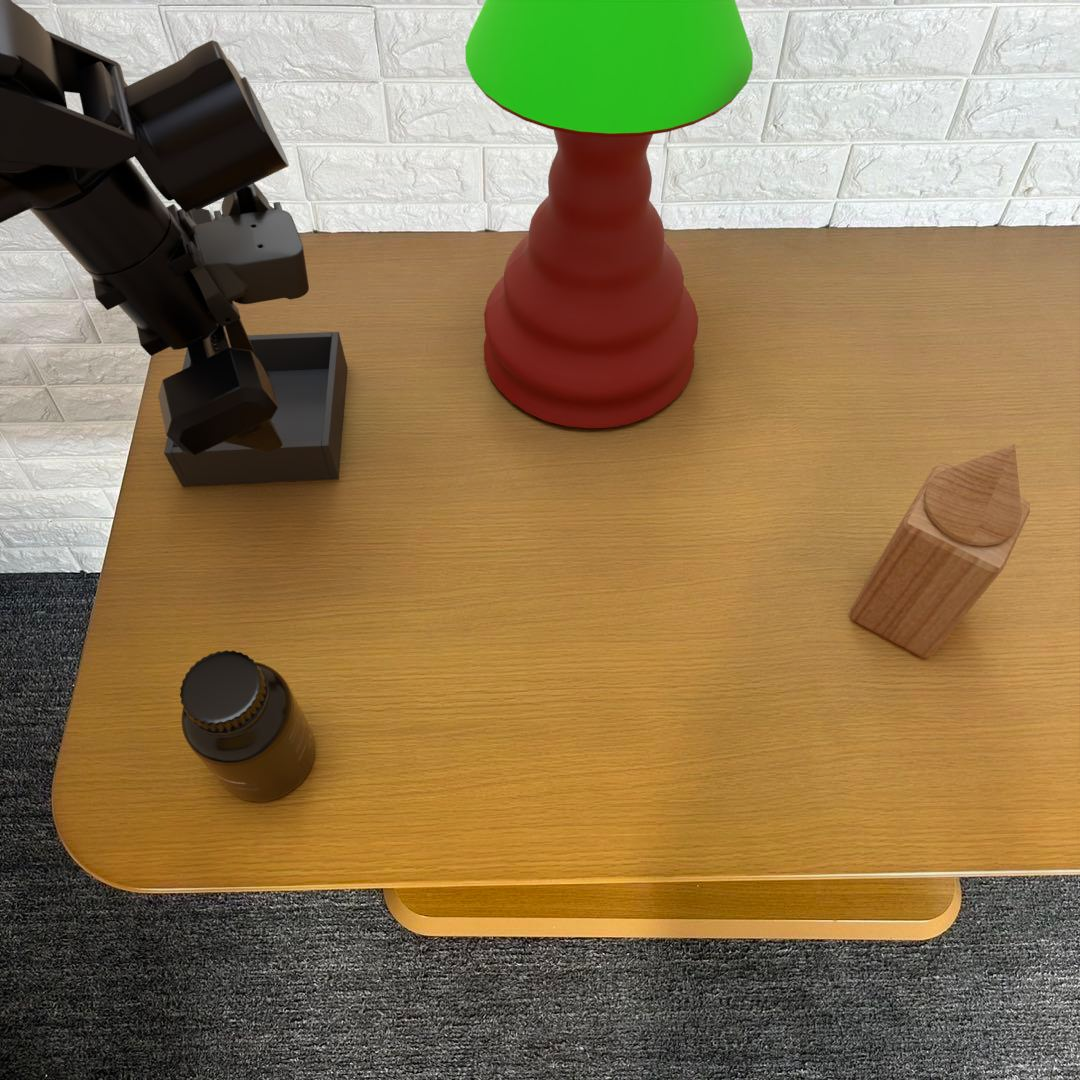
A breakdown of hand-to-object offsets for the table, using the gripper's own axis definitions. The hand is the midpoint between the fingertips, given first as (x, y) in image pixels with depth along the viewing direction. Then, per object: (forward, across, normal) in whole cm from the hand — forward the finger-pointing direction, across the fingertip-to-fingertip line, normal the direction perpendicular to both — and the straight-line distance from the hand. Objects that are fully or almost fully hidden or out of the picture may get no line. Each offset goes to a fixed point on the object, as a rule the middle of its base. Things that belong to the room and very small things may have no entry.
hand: (262, 400), depth 64 cm
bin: (+12, +10, +4) cm, 17 cm away
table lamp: (+20, +8, -25) cm, 33 cm away
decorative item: (+23, -26, -36) cm, 51 cm away
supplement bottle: (+11, -20, +10) cm, 25 cm away
